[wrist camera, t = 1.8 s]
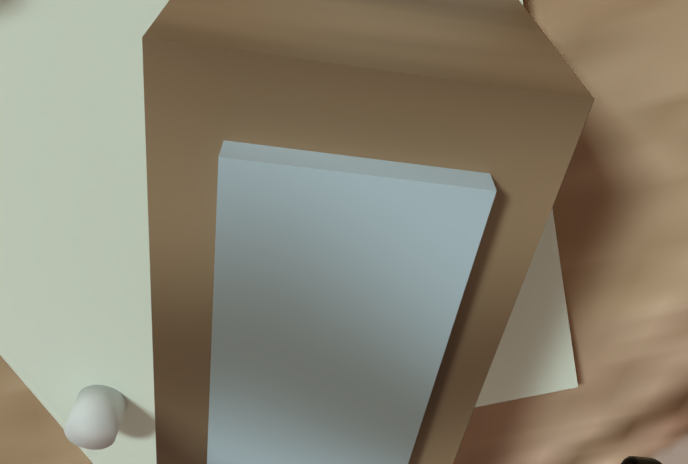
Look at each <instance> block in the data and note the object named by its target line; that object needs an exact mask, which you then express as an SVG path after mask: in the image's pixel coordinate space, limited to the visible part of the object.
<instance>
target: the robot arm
mask: <svg viewBox="0 0 688 464" xmlns="http://www.w3.org/2000/svg"><path fill="white" fill-rule="evenodd" d="M621 464H662V463H660V462H659V461H657V460H656V459H653V458H647V457H635V456H629V457H627V458H625V459H624V460H623V461H622V463H621Z"/></svg>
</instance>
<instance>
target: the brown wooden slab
mask: <svg viewBox="0 0 688 464" xmlns="http://www.w3.org/2000/svg"><path fill="white" fill-rule="evenodd" d="M142 49H143V79H144V108H145V137H146V167H147V196H148V226H149V255H150V285H151V314H152V343H153V373H154V402H155V432H156V461H157V464H453V462H454V459H455V457H456V454H457V452H458V449H459V446H460V444H461V441H462V439H463V436H464V433H465V431H466V428H467V426H468V423H469V421H470V418H471V415H472V413H473V410H474V408H475V405H476V403H477V400H478V397H479V395H480V392H481V390H482V387H483V385H484V382H485V379H486V377H487V374H488V372H489V369H490V367H491V364H492V361H493V359H494V356H495V354H496V351H497V348H498V346H499V343H500V341H501V338H502V336H503V333H504V330H505V328H506V325H507V323H508V320H509V318H510V315H511V312H512V310H513V307H514V305H515V302H516V300H517V297H518V294H519V292H520V289H521V287H522V284H523V281H524V279H525V276H526V274H527V271H528V269H529V266H530V263H531V261H532V258H533V256H534V253H535V251H536V248H537V245H538V243H539V240H540V238H541V235H542V233H543V230H544V227H545V225H546V222H547V220H548V217H549V215H550V212H551V209H552V207H553V204H554V202H555V199H556V196H557V194H558V191H559V189H560V186H561V184H562V181H563V178H564V176H565V173H566V171H567V168H568V166H569V163H570V160H571V158H572V155H573V153H574V150H575V148H576V145H577V142H578V140H579V137H580V135H581V132H582V129H583V127H584V124H585V122H586V119H587V117H588V114H589V111H590V109H591V106H592V104H593V101H594V98H593V97H592V95H591V94H590V93H589V91H588V90H587V89H586V87H585V86H584V85H583V84H582V82H581V81H580V80H579V78H578V77H577V76H576V74H575V73H574V72H573V70H572V69H571V68H570V67H569V65H568V64H567V63H566V61H565V60H564V59H563V57H562V56H561V55H560V53H559V52H558V51H557V49H556V48H555V47H554V46H553V44H552V43H551V42H550V40H549V39H548V38H547V36H546V35H545V34H544V32H543V31H542V30H541V29H540V27H539V26H538V25H537V23H536V22H535V21H534V19H533V18H532V17H531V15H530V14H529V13H528V11H527V10H526V9H525V8H524V6H523V5H522V4H521V2H520V1H519V0H169V1H168V3H167V4H166V5H165V7H164V8H163V10H162V11H161V12H160V14H159V15H158V16H157V18H156V19H155V20H154V22H153V23H152V25H151V26H150V27H149V29H148V30H147V31H146V33H145V34H144V35H143V37H142Z"/></svg>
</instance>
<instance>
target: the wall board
mask: <svg viewBox="0 0 688 464" xmlns="http://www.w3.org/2000/svg"><path fill="white" fill-rule="evenodd" d="M168 1H169V0H0V355H1V356H2V357H3V359H4V360H5V361H6V362H7V363H8V364H9V366H10V367H11V368H12V369H13V370H14V372H15V373H16V374H17V375H18V376H19V377H20V379H21V380H22V381H23V382H24V383H25V384H26V386H27V387H28V388H29V389H30V390H31V391H32V393H33V394H34V395H35V396H36V397H37V398H38V400H39V401H40V402H41V403H42V404H43V405H44V407H45V408H46V409H47V410H48V411H49V413H50V414H51V415H52V416H53V417H54V418H55V420H56V421H57V422H58V423H59V424H60V425H61V427H62V428H63V429H64V433H65V435H66V437H67V438H68V440H69V441H71V442H72V443H73V444H75V445H77V446H79V448H80V449H81V450H82V451H83V452H84V454H85V455H86V456H87V457H88V458H89V459H90V461H91V462H92V463H93V464H157V461H156V432H155V402H154V373H153V343H152V314H151V285H150V255H149V226H148V196H147V167H146V137H145V108H144V79H143V49H142V37H143V35H144V34H145V33H146V31H147V30H148V29H149V27H150V26H151V25H152V23H153V22H154V20H155V19H156V18H157V16H158V15H159V14H160V12H161V11H162V10H163V8H164V7H165V5H166V4H167V3H168ZM519 1H520V2H521V4H522V5H523V0H519ZM576 387H578V383H577V376H576V369H575V362H574V355H573V348H572V341H571V334H570V327H569V320H568V313H567V306H566V300H565V293H564V286H563V279H562V272H561V265H560V258H559V251H558V244H557V237H556V230H555V223H554V216H553V209H551V212H550V215H549V217H548V220H547V222H546V225H545V227H544V230H543V233H542V235H541V238H540V240H539V243H538V245H537V248H536V251H535V253H534V256H533V258H532V261H531V263H530V266H529V269H528V271H527V274H526V276H525V279H524V281H523V284H522V287H521V289H520V292H519V294H518V297H517V300H516V302H515V305H514V307H513V310H512V312H511V315H510V318H509V320H508V323H507V325H506V328H505V330H504V333H503V336H502V338H501V341H500V343H499V346H498V348H497V351H496V354H495V356H494V359H493V361H492V364H491V367H490V369H489V372H488V374H487V377H486V379H485V382H484V385H483V387H482V390H481V392H480V395H479V397H478V400H477V403H476V405H475V407H480V406H485V405H490V404H495V403H500V402H505V401H510V400H515V399H520V398H525V397H530V396H535V395H540V394H546V393H551V392H556V391H561V390H566V389H571V388H576Z"/></svg>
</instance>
